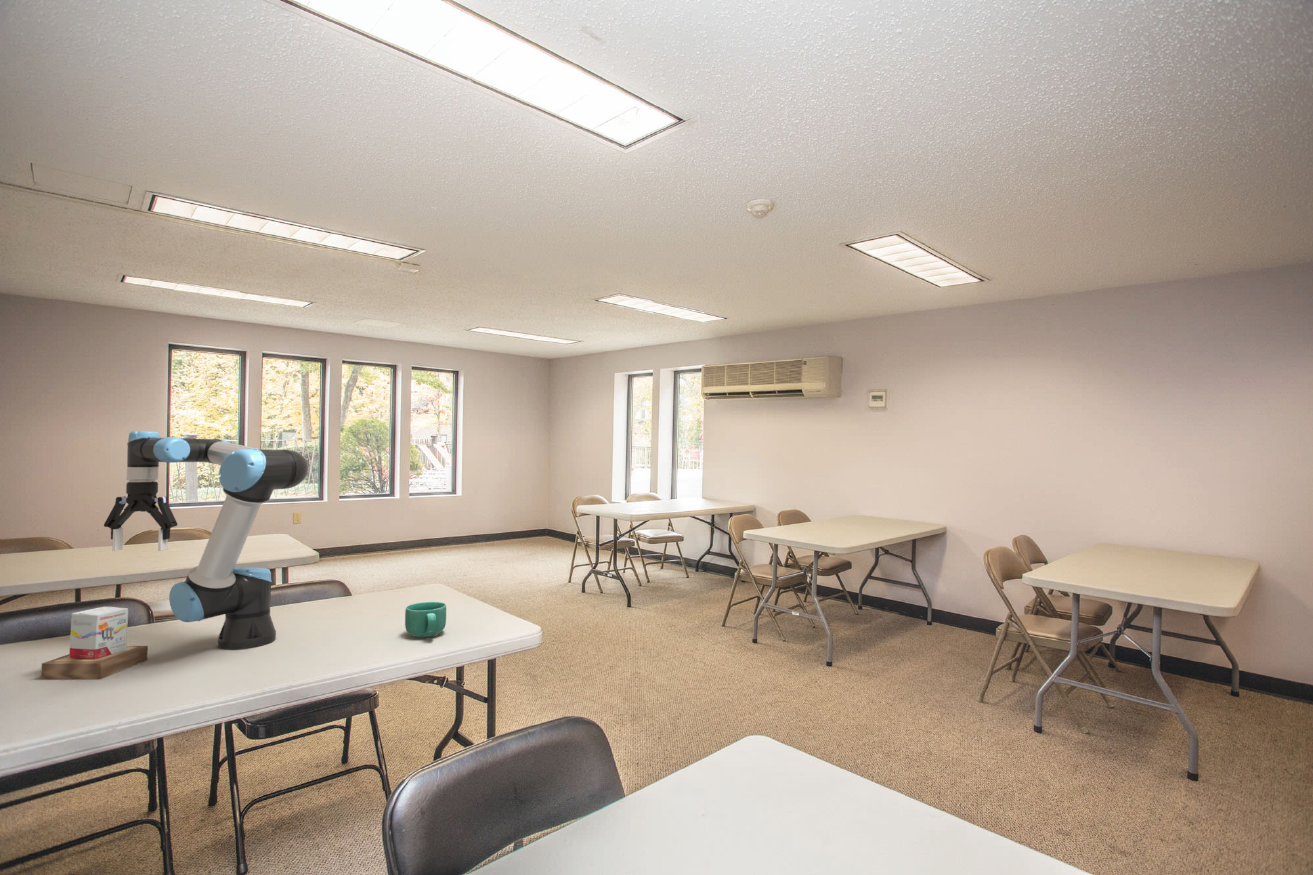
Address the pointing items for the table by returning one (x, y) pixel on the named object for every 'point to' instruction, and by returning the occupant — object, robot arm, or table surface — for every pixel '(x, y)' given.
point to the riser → (93, 665)
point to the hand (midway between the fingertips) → (140, 550)
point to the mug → (425, 619)
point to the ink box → (98, 632)
